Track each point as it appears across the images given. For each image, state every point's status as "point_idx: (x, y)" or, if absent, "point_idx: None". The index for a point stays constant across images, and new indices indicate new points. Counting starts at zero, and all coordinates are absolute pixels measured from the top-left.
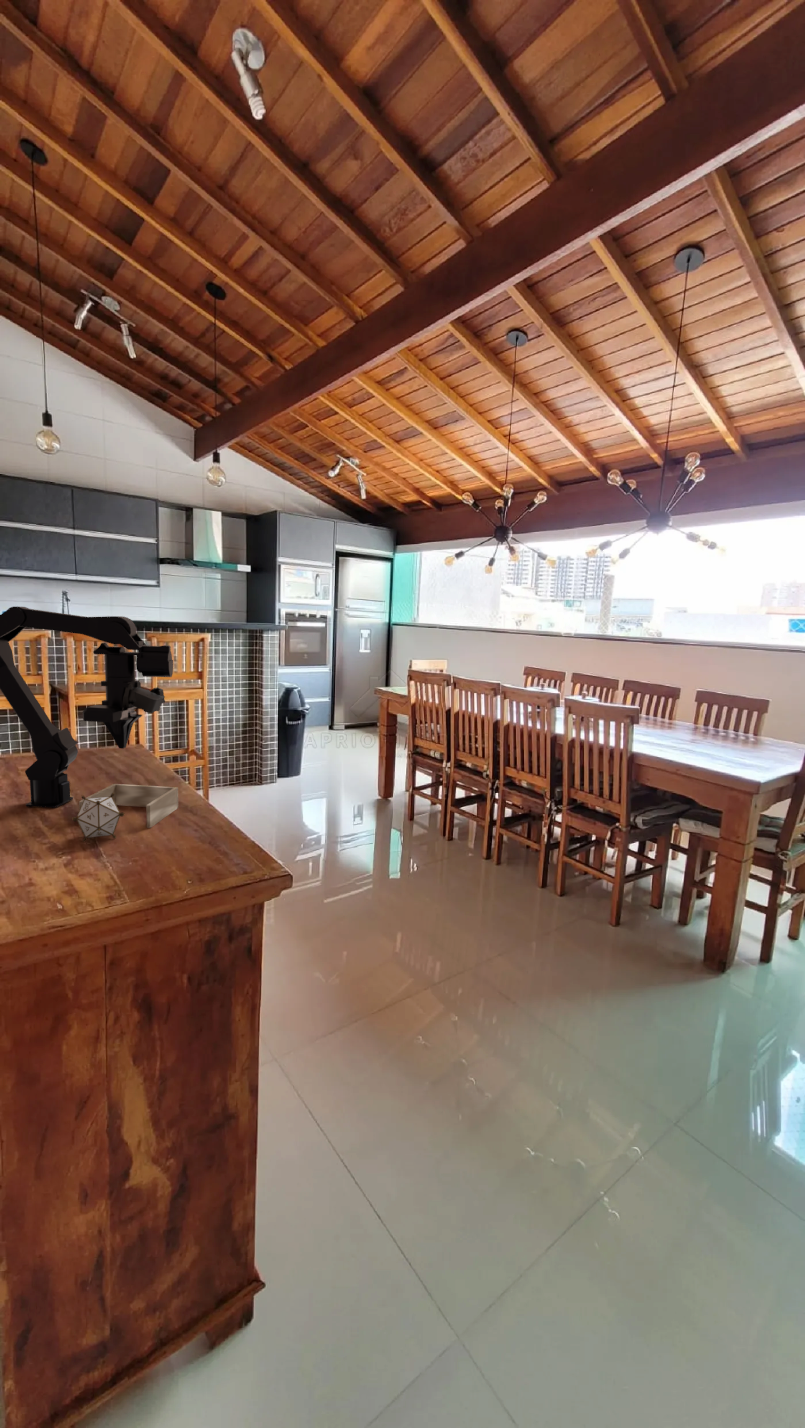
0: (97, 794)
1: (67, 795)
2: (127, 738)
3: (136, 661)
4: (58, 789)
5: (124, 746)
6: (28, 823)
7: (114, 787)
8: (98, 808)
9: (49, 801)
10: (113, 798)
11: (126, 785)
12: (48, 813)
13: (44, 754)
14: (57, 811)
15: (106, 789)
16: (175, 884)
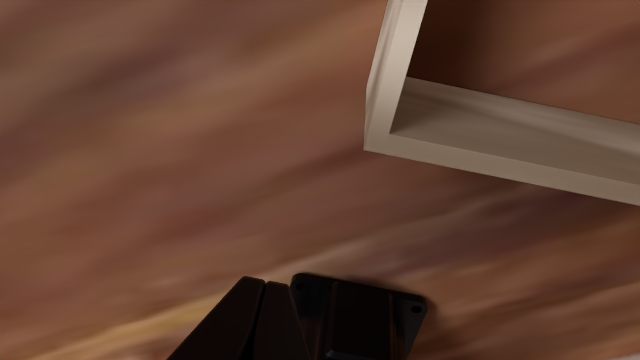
0: (612, 177)
1: (355, 303)
2: (210, 355)
3: None
4: (394, 355)
5: (279, 294)
6: (611, 322)
7: (406, 129)
8: None
9: (402, 335)
10: (416, 100)
11: (409, 59)
12: (487, 299)
13: None
14: (463, 279)
15: (508, 157)
16: None
